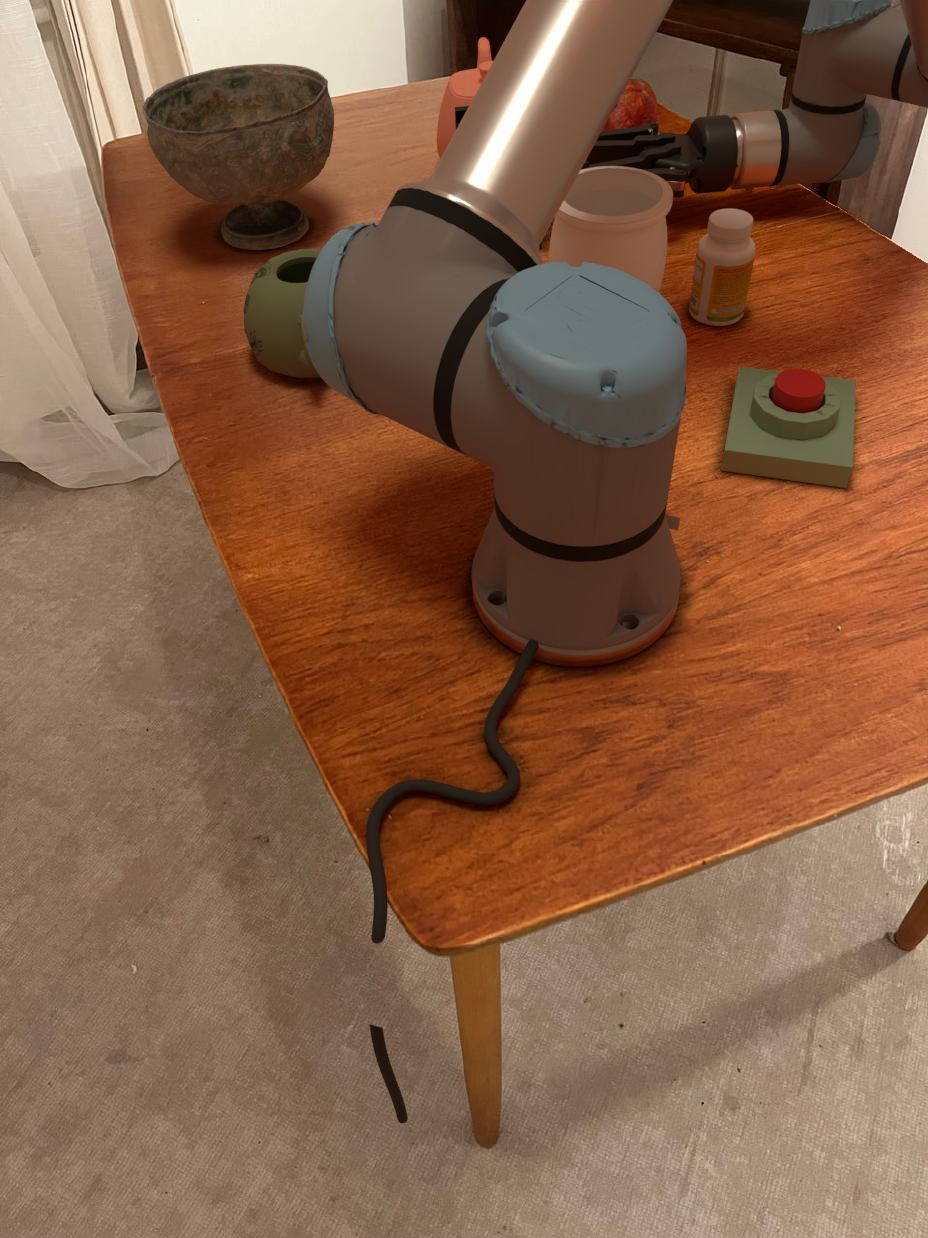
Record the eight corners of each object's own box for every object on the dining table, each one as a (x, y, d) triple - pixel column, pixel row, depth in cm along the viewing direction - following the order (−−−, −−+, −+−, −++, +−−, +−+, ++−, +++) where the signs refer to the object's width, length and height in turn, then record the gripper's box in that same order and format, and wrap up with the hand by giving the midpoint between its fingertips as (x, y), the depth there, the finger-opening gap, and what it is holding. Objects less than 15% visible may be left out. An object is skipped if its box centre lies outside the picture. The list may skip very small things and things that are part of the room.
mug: (251, 320, 100) (232, 239, 93) (377, 306, 100) (367, 225, 94) (249, 415, 89) (228, 331, 83) (390, 398, 90) (380, 314, 83)
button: (820, 417, 80) (825, 399, 78) (769, 410, 80) (773, 393, 79) (822, 388, 82) (827, 371, 81) (773, 382, 83) (777, 365, 82)
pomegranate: (628, 142, 129) (574, 104, 123) (667, 92, 125) (613, 50, 119) (648, 172, 125) (594, 134, 119) (689, 121, 120) (634, 80, 114)
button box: (846, 488, 79) (859, 449, 76) (720, 470, 81) (728, 431, 78) (850, 401, 87) (861, 362, 84) (734, 386, 89) (742, 348, 86)
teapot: (535, 131, 127) (536, 26, 118) (558, 201, 114) (562, 90, 105) (432, 139, 127) (426, 35, 118) (444, 211, 114) (437, 100, 104)
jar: (651, 382, 90) (669, 224, 79) (539, 373, 92) (541, 217, 80) (659, 319, 97) (677, 166, 85) (555, 312, 98) (559, 160, 87)
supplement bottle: (754, 310, 97) (773, 215, 90) (724, 334, 94) (740, 237, 87) (708, 292, 100) (722, 198, 92) (677, 315, 97) (689, 220, 90)
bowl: (327, 177, 121) (307, 43, 110) (366, 249, 109) (348, 106, 97) (167, 207, 117) (129, 72, 106) (189, 285, 105) (149, 141, 94)
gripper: (746, 222, 103) (526, 243, 102) (703, 155, 114) (504, 173, 113) (759, 150, 98) (526, 171, 97) (712, 86, 109) (503, 105, 108)
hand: (515, 172), depth 105 cm, fingers closed on lock lever, 4 cm apart
